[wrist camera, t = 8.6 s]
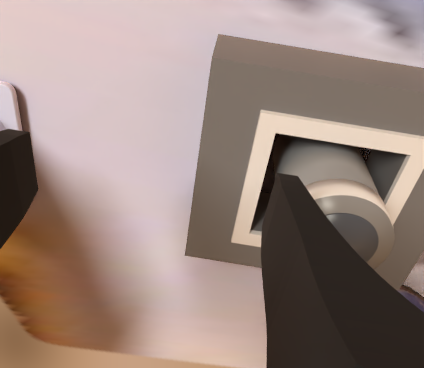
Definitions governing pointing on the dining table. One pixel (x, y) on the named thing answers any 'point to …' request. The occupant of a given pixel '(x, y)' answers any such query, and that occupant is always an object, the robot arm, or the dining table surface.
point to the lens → (340, 191)
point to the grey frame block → (307, 128)
